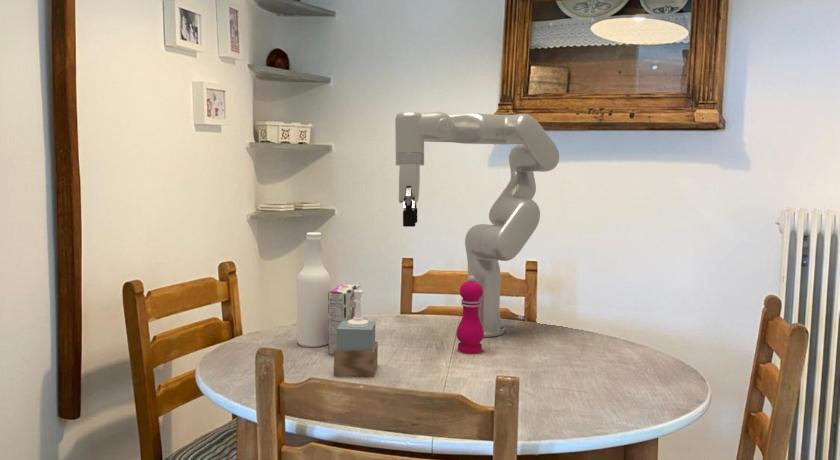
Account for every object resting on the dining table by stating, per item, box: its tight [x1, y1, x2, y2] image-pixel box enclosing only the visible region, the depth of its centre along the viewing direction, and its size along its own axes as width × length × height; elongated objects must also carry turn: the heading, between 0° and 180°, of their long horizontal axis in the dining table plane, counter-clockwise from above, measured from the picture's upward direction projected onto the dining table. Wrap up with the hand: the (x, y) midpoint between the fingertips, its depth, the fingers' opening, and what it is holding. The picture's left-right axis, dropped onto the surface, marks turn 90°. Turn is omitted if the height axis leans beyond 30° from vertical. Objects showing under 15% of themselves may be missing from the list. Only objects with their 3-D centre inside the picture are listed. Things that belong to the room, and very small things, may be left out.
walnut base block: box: [333, 340, 379, 378], centre depth 151 cm, size 9×9×6 cm
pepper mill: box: [456, 275, 485, 355], centre depth 169 cm, size 7×7×20 cm
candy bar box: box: [328, 283, 357, 356], centre depth 168 cm, size 11×5×16 cm, turn 168°
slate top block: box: [337, 320, 376, 351], centre depth 150 cm, size 8×8×5 cm
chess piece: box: [347, 281, 369, 327], centre depth 150 cm, size 5×5×10 cm
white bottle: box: [296, 231, 331, 348], centre depth 173 cm, size 9×9×30 cm
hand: (410, 224), depth 172 cm, fingers open, 9 cm apart
